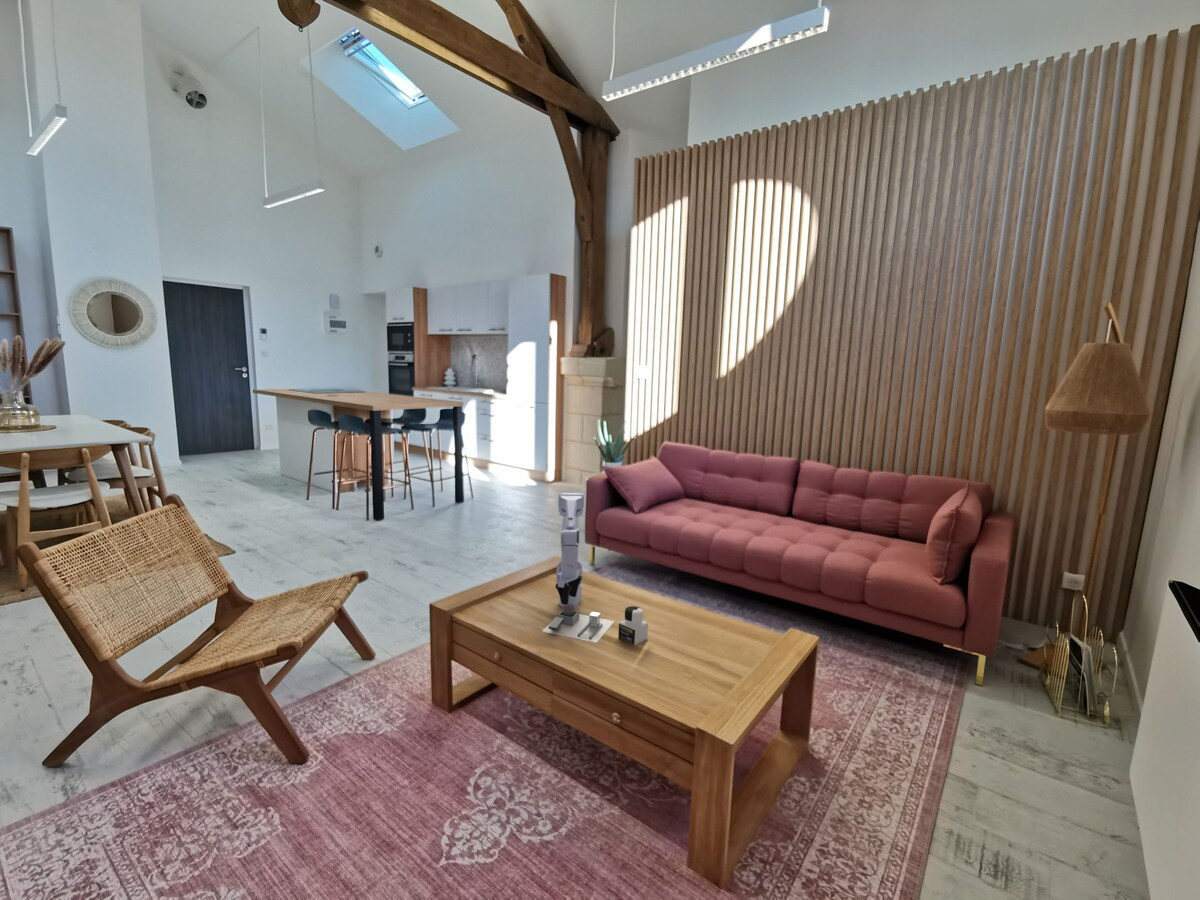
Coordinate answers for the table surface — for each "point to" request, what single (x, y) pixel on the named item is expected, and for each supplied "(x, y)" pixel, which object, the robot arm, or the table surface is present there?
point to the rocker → (556, 623)
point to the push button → (568, 610)
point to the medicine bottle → (633, 626)
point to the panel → (580, 627)
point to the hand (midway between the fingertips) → (568, 600)
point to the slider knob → (594, 619)
